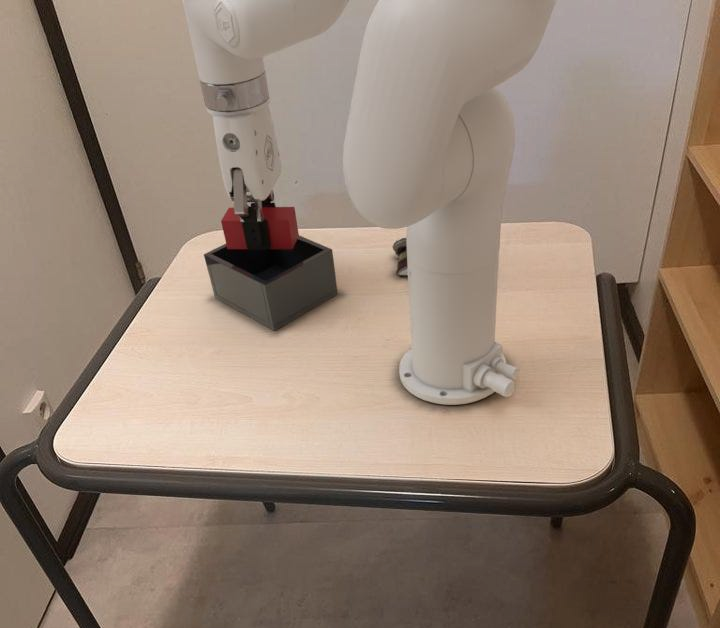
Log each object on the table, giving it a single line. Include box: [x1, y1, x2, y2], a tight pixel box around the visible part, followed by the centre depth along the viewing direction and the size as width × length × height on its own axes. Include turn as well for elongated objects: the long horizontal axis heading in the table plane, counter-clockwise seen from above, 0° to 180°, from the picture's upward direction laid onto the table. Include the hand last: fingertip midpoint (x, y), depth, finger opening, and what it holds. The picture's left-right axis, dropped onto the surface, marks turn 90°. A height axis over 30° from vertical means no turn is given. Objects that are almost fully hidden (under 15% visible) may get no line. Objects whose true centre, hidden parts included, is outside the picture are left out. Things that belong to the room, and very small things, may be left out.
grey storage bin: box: [203, 235, 339, 332], centre depth 99 cm, size 14×12×7 cm
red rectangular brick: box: [220, 206, 300, 249], centre depth 95 cm, size 9×4×4 cm, turn 81°
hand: (263, 239), depth 96 cm, fingers closed on red rectangular brick, 3 cm apart
